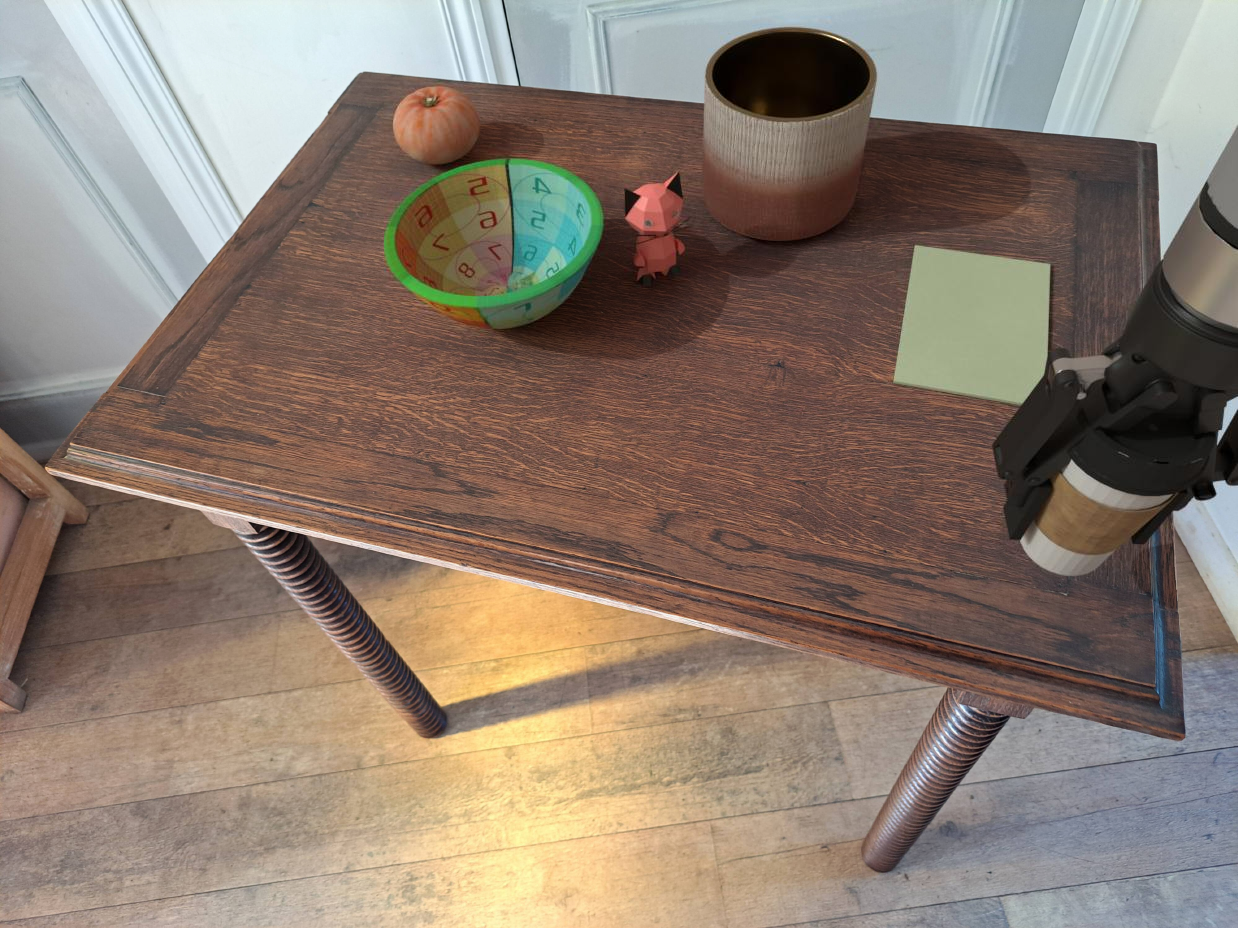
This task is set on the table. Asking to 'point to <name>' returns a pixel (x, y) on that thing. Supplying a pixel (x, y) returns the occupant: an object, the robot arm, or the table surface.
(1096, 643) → the table surface
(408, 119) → the pumpkin
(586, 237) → the bowl
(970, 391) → the sage mat
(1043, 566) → the coffee cup
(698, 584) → the table surface
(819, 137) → the planter
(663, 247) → the cat figurine
